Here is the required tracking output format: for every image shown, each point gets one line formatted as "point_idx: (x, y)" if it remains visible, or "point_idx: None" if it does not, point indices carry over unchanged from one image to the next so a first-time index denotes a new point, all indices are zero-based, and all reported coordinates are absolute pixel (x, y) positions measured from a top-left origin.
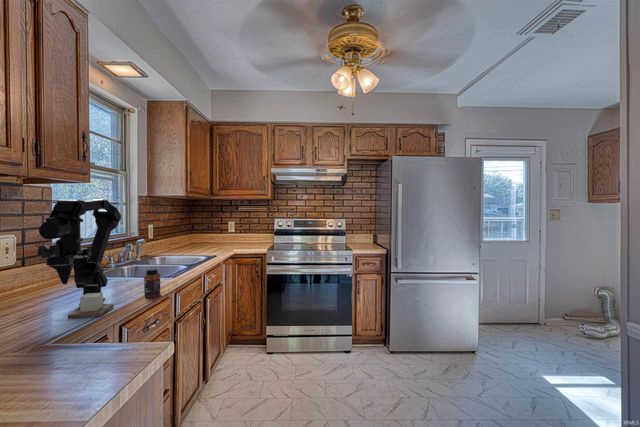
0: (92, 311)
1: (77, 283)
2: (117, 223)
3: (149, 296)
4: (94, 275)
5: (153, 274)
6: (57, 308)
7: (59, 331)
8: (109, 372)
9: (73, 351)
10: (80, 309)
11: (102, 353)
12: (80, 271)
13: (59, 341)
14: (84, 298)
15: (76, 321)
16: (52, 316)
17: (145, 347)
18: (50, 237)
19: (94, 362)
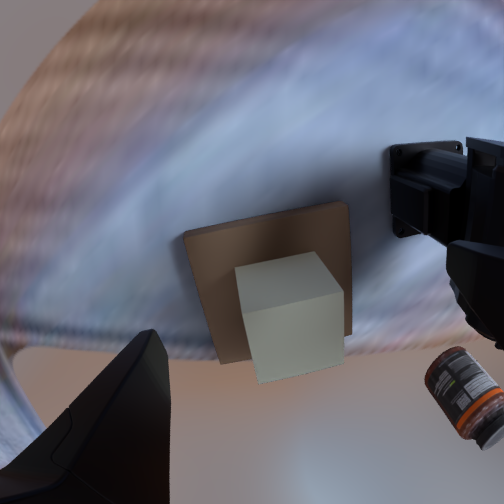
0: (241, 319)
1: (472, 168)
2: None
3: (427, 376)
4: (482, 332)
5: (471, 438)
6: (348, 57)
7: (55, 305)
8: (5, 457)
9: (4, 403)
10: (236, 274)
11: (27, 443)
12: (486, 320)
13: (13, 352)
14: (246, 330)
15: (153, 297)
16: (214, 121)
17: None
18: None
19: (6, 440)
